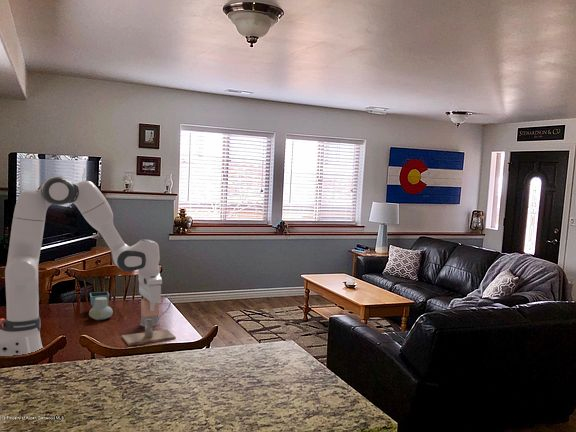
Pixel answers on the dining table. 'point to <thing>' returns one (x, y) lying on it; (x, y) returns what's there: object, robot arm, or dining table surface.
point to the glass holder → (155, 317)
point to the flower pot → (98, 294)
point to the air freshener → (100, 309)
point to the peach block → (145, 308)
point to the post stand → (148, 335)
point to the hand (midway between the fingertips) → (149, 308)
